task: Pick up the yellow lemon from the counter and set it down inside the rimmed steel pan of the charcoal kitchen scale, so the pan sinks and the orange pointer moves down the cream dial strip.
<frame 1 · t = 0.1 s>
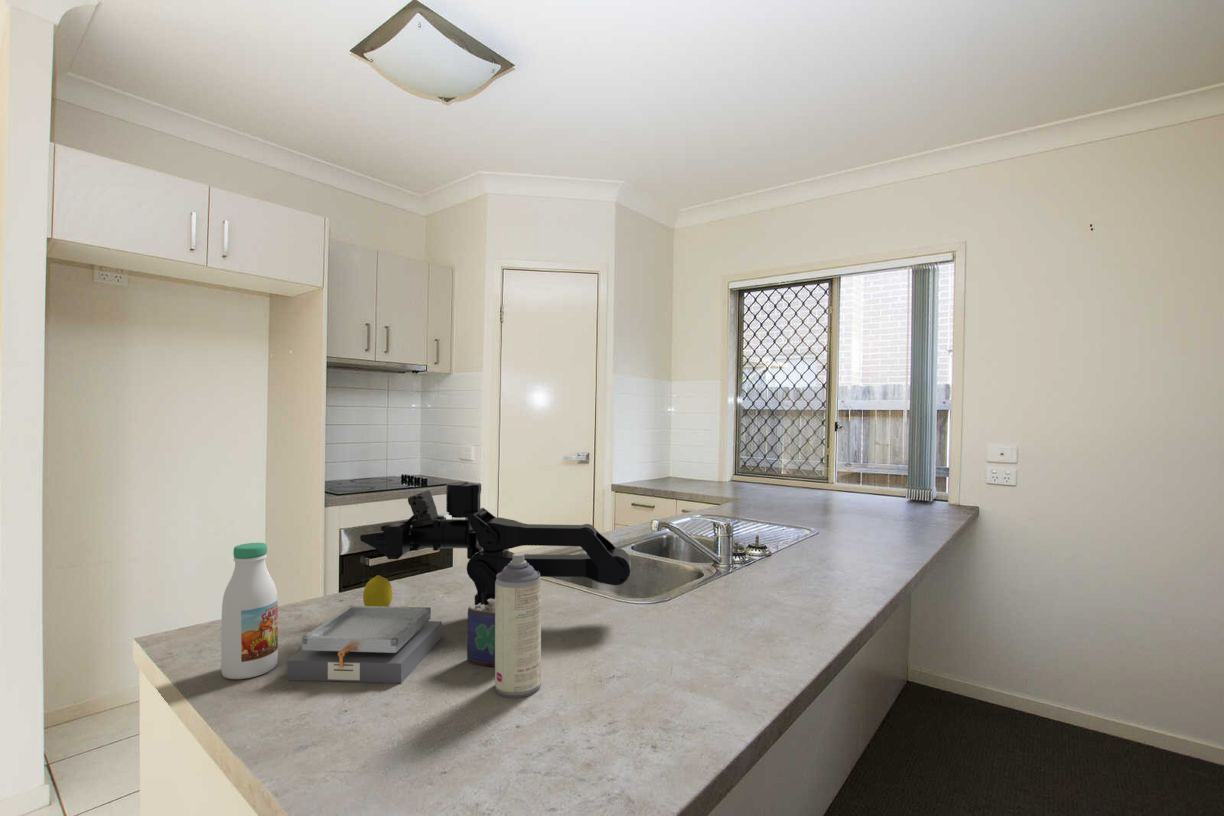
hand: (371, 532, 121), 17 cm above the countertop, tool horizontal, fingers open, 9 cm apart
lemon: (377, 615, 121), on the countertop
aerosol can: (517, 688, 90), on the countertop
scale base: (370, 656, 100), on the countertop
flask: (492, 664, 98), on the countertop
scale pan: (367, 634, 99), point 4 cm above the countertop, slide at 0.0 cm
milk bottle: (250, 671, 95), on the countertop
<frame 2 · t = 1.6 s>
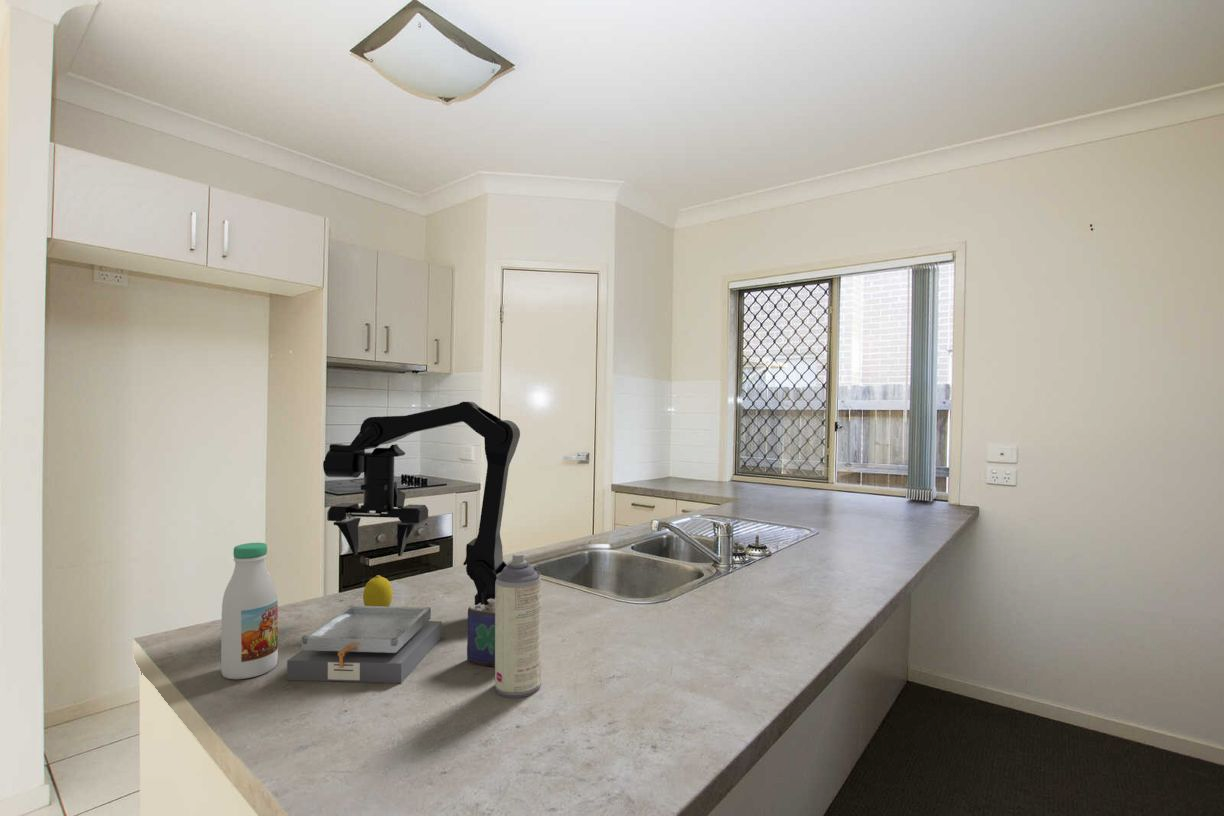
hand: (377, 555, 121), 12 cm above the countertop, tool pointing down, fingers open, 9 cm apart
nothing on the countertop moved.
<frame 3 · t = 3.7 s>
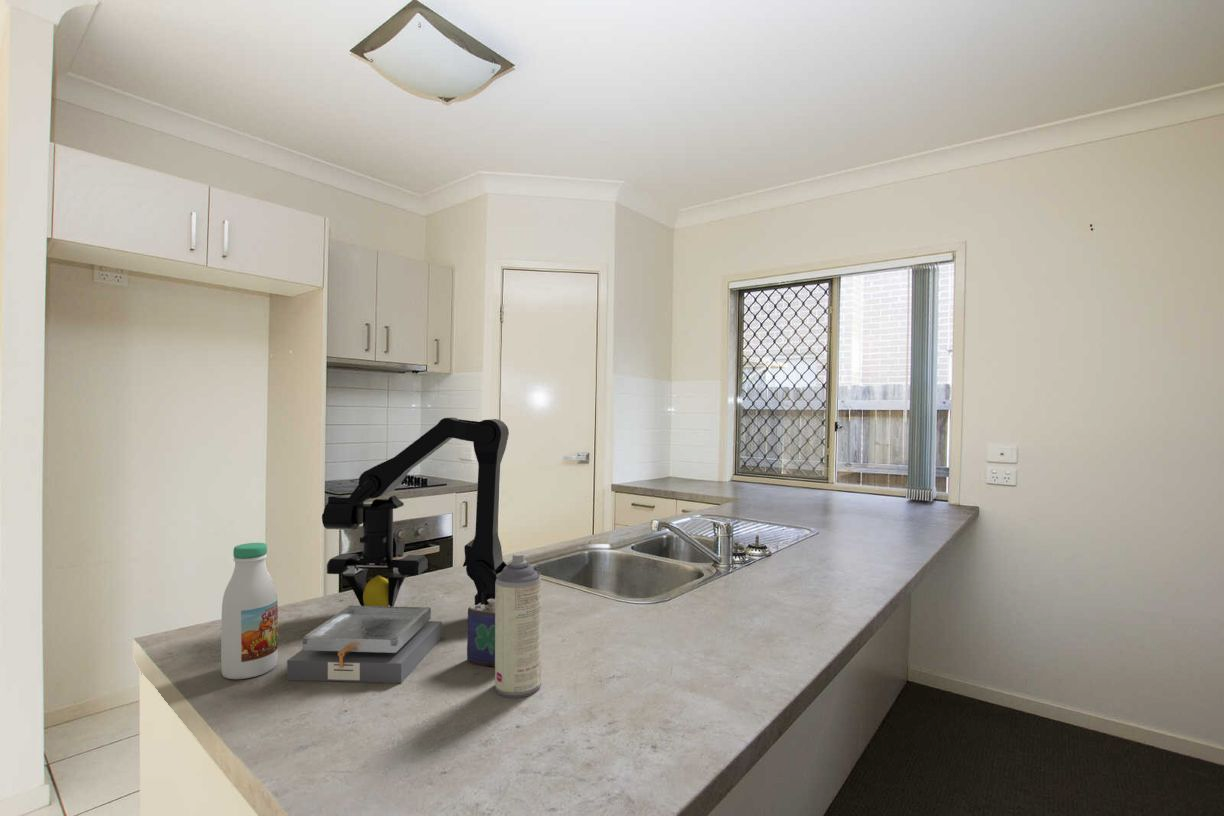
hand: (377, 606, 121), 2 cm above the countertop, tool pointing down, fingers closed on lemon, 5 cm apart
lemon: (377, 615, 121), on the countertop, touching gripper
everything else where it was.
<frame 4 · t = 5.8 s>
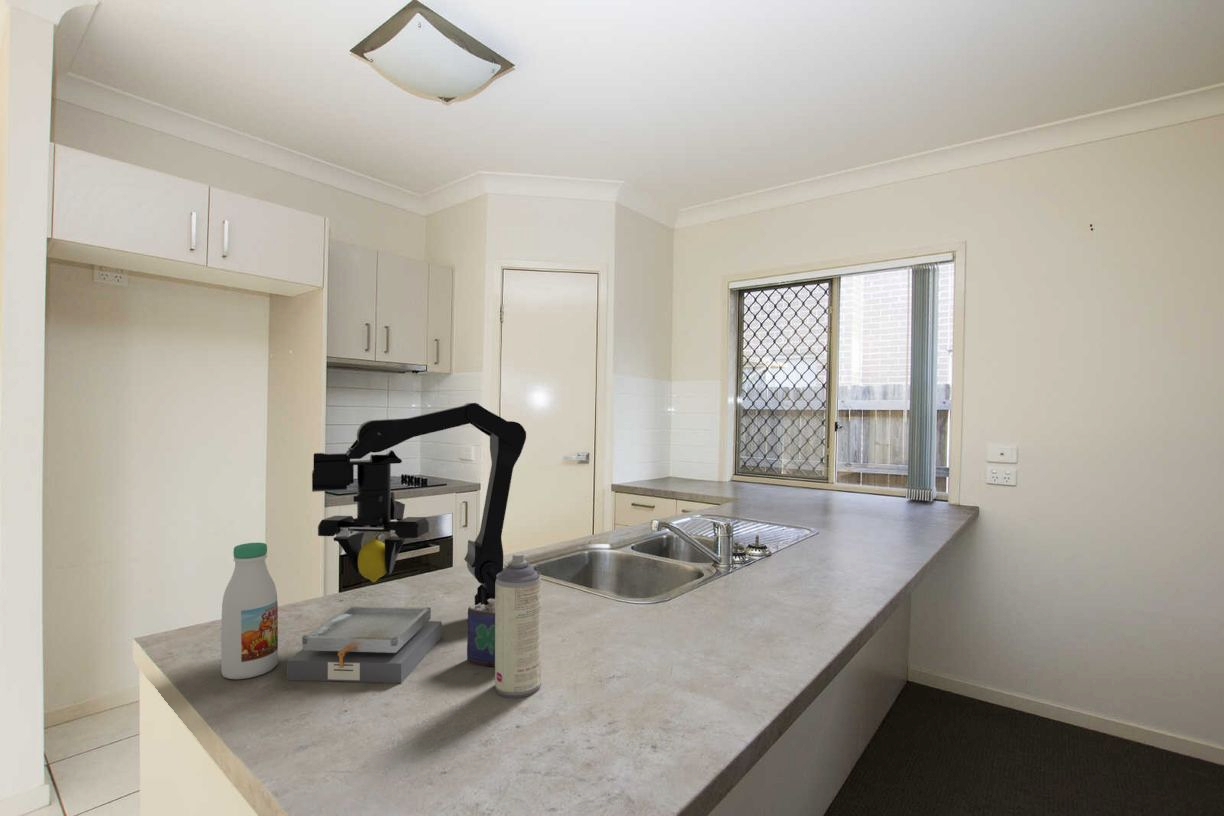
hand: (374, 573, 109), 12 cm above the countertop, tool pointing down, fingers closed on lemon, 5 cm apart
lemon: (373, 583, 109), point 10 cm above the countertop, touching gripper
everything else where it was.
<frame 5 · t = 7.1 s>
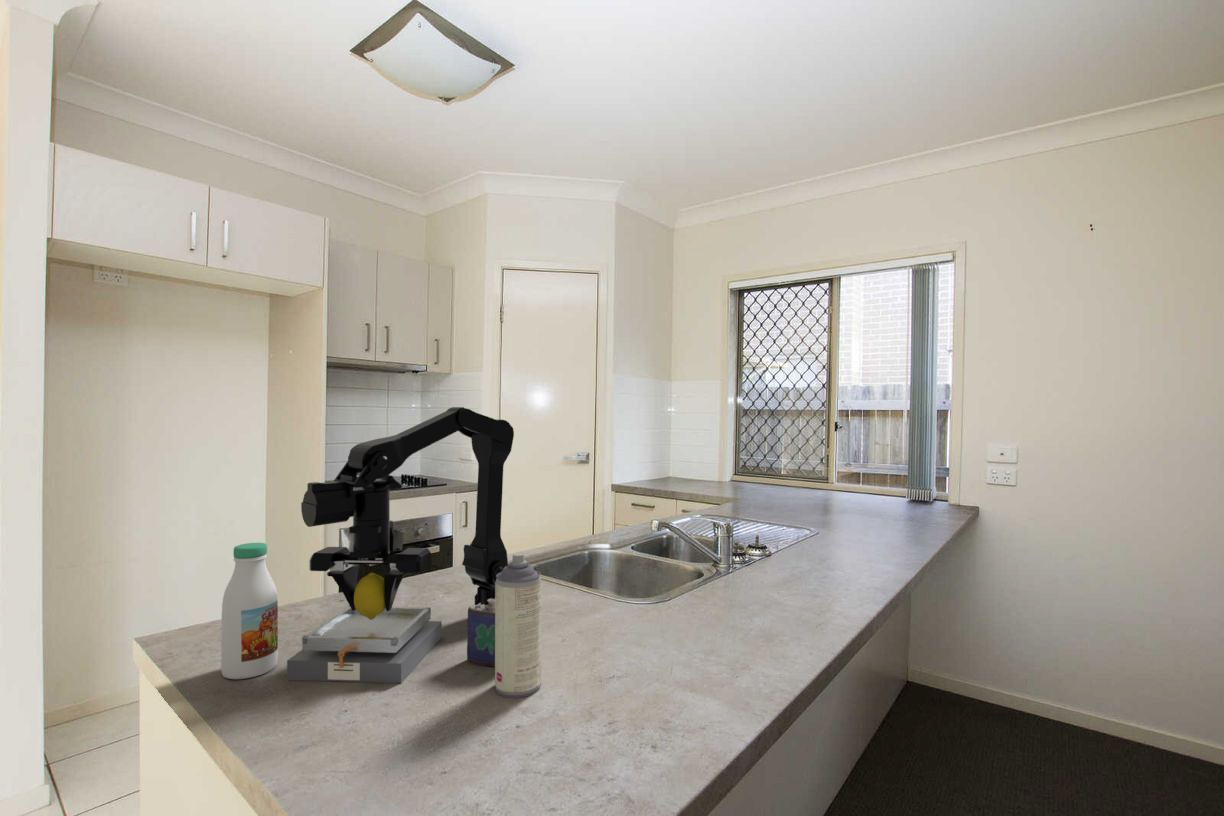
hand: (371, 610, 100), 8 cm above the countertop, tool pointing down, fingers closed on lemon, 5 cm apart
lemon: (371, 621, 100), point 6 cm above the countertop, touching gripper
everything else where it was.
when the fingers open (8 cm above the countertop, at t = 8.0 s): lemon drops 2 cm, resting on scale pan.
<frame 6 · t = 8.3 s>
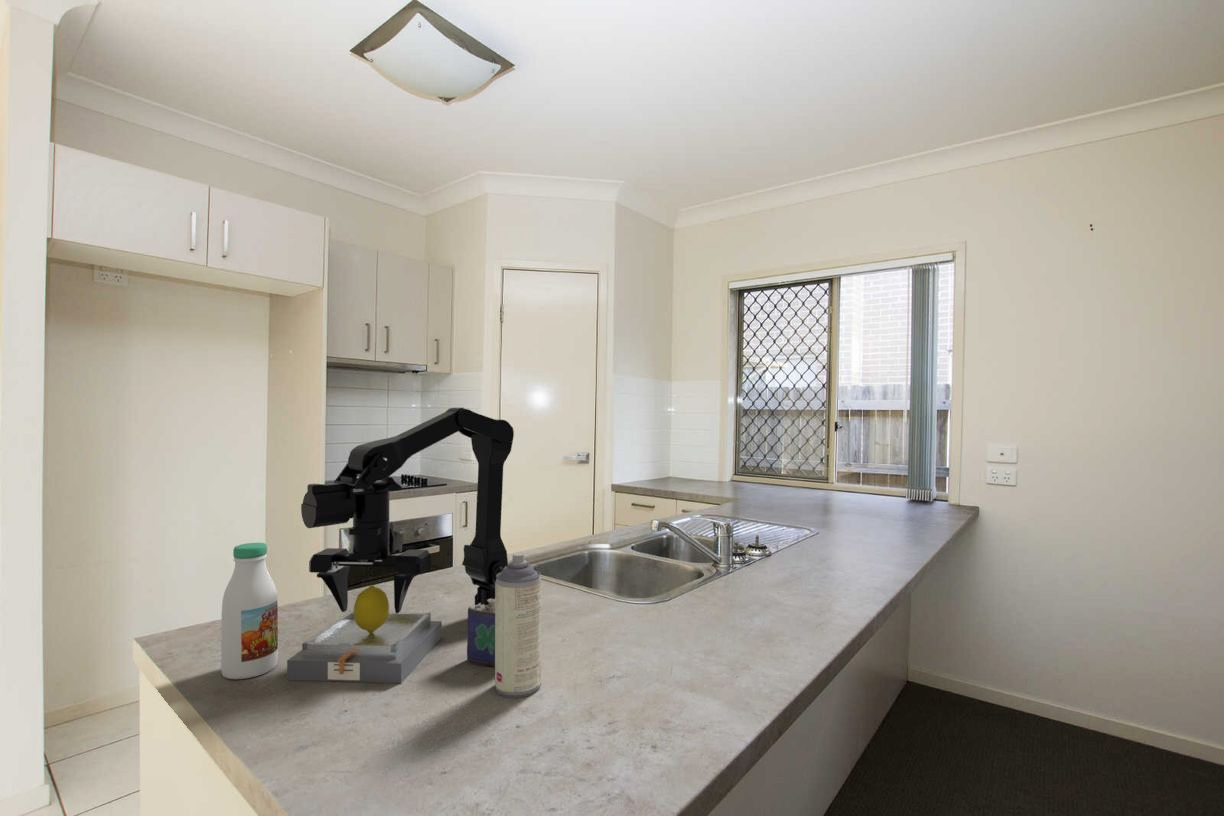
hand: (371, 611, 100), 8 cm above the countertop, tool pointing down, fingers open, 9 cm apart
lemon: (371, 634, 100), point 4 cm above the countertop, touching scale pan
scale pan: (367, 640, 99), point 3 cm above the countertop, slide at 1.0 cm, touching lemon, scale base
everything else where it was.
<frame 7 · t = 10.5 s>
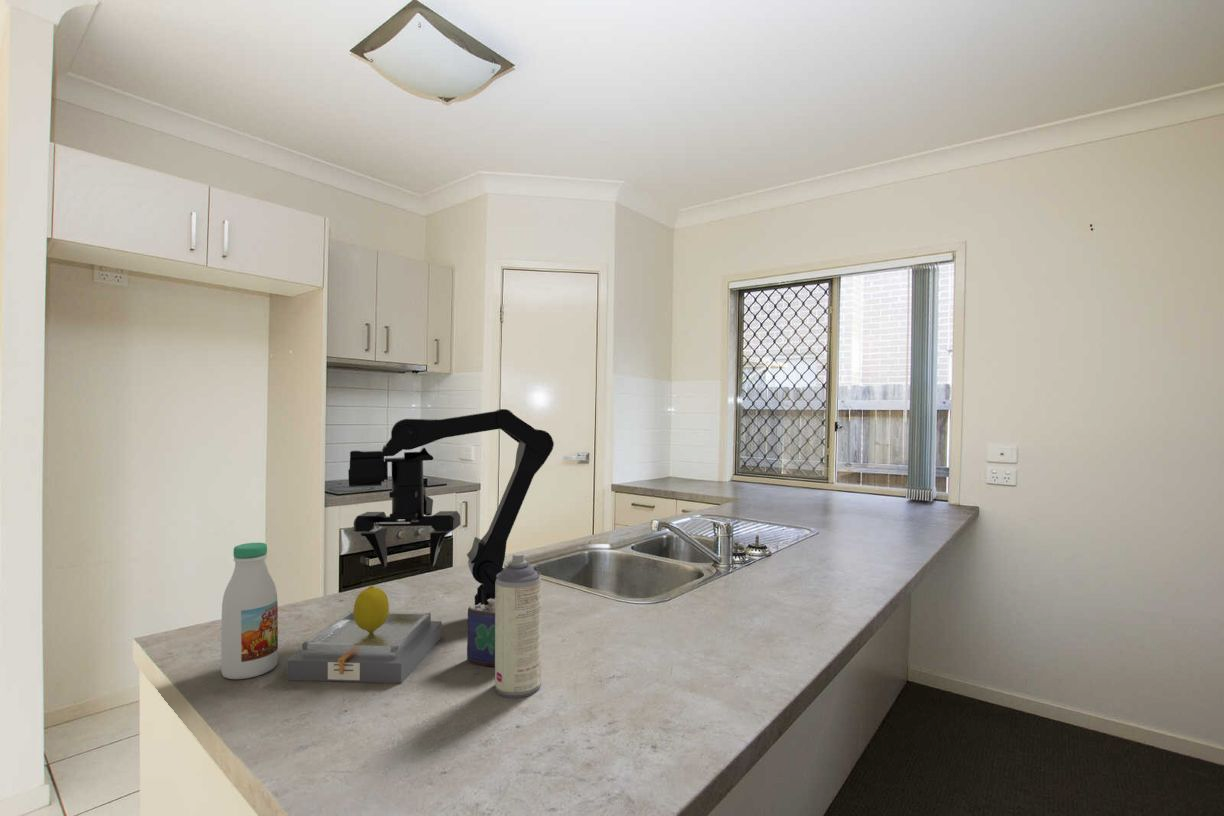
hand: (408, 566, 114), 12 cm above the countertop, tool pointing down, fingers open, 9 cm apart
nothing on the countertop moved.
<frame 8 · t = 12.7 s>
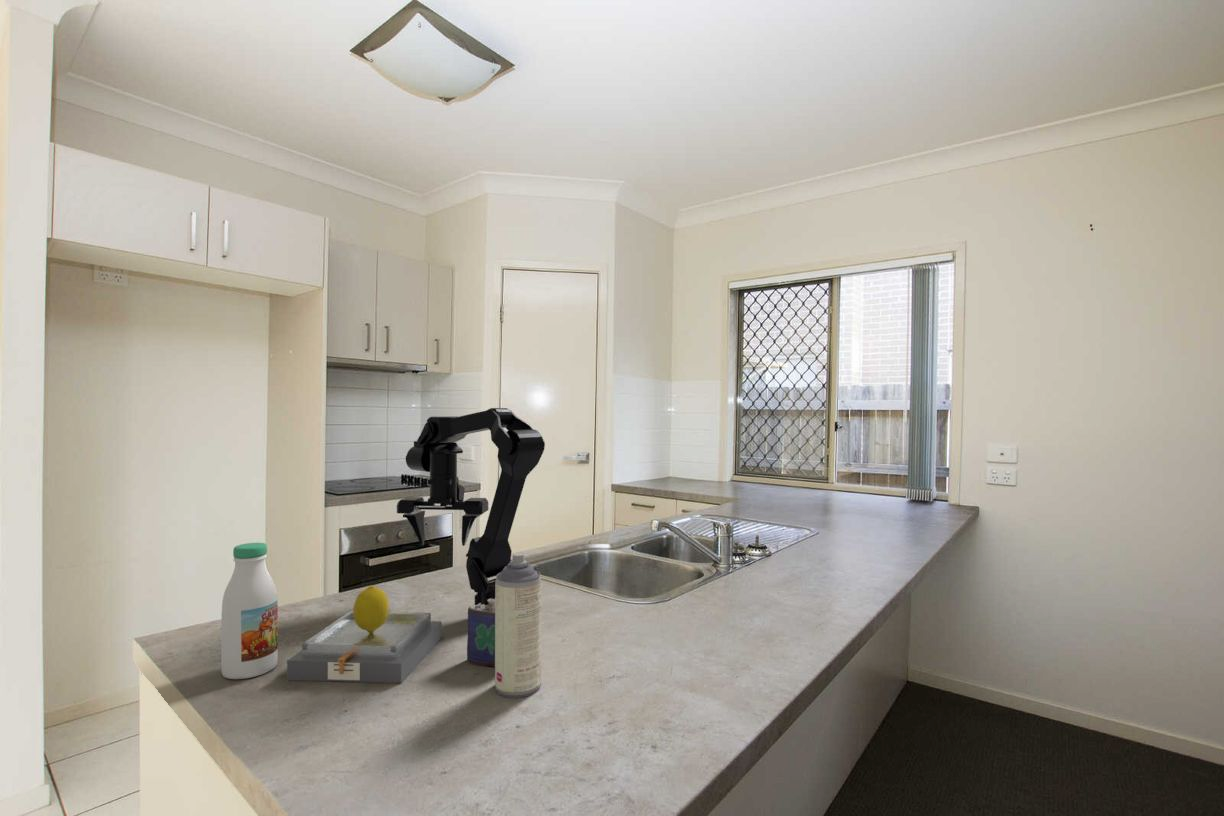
hand: (443, 545, 130), 12 cm above the countertop, tool pointing down, fingers open, 9 cm apart
nothing on the countertop moved.
at the end: lemon inside the target area on the scale pan (0.1 cm from its centre), point 4.8 cm above the scale pan's base; scale pan slide at 1.0 cm; the gripper is holding nothing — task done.
